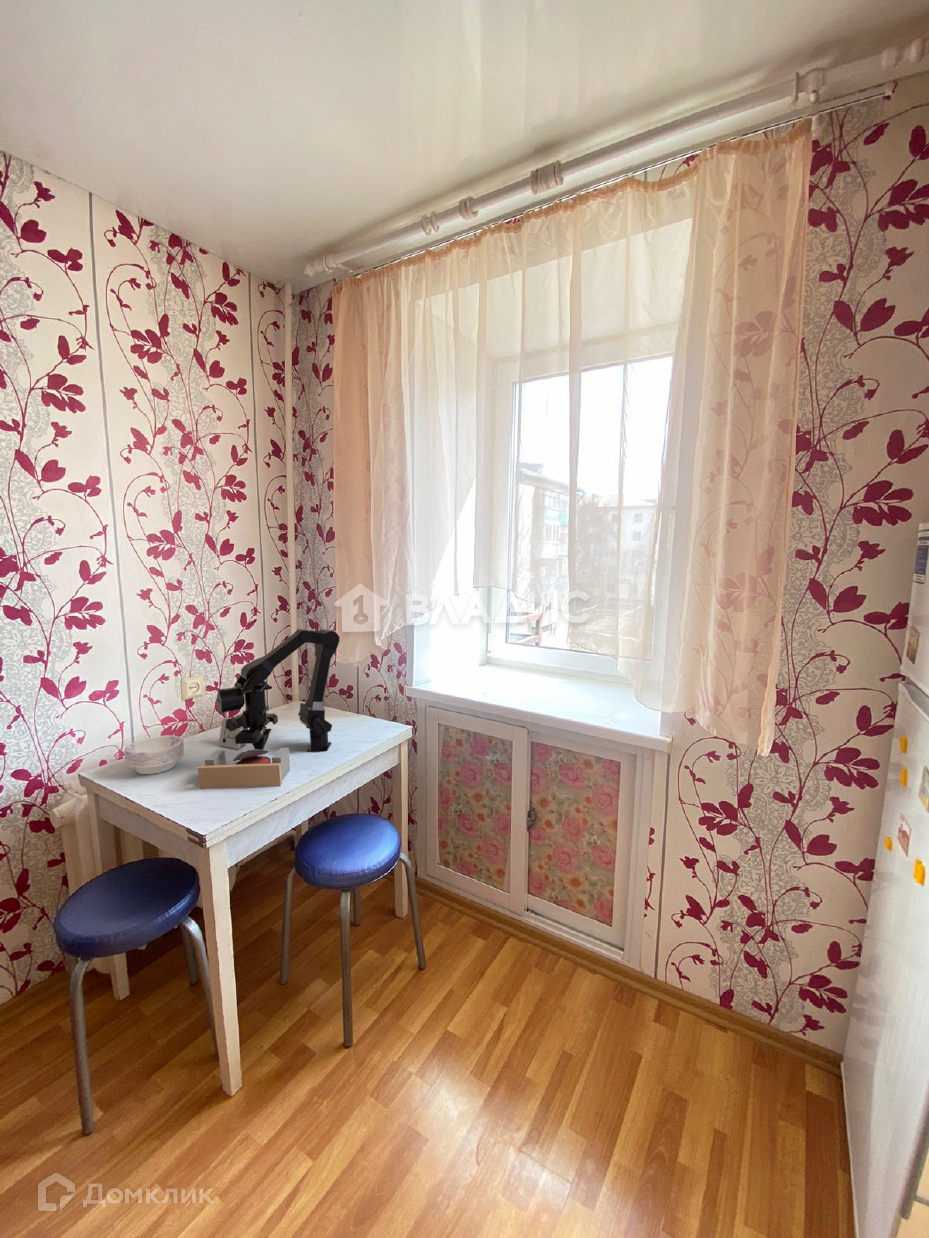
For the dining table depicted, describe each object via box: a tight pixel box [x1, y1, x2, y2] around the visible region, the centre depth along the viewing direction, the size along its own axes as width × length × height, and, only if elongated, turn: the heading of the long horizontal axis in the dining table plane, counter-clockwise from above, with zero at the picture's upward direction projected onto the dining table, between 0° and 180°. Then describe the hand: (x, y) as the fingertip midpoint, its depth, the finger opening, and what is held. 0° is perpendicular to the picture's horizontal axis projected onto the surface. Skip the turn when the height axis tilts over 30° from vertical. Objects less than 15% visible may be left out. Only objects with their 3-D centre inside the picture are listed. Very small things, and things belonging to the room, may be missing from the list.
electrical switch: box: [218, 717, 249, 750], centre depth 167 cm, size 9×5×9 cm, turn 65°
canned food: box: [232, 748, 272, 765], centre depth 145 cm, size 11×10×10 cm
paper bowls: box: [124, 735, 185, 775], centre depth 149 cm, size 15×15×8 cm
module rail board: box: [197, 747, 291, 790], centre depth 141 cm, size 10×22×7 cm, turn 92°
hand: (259, 754), depth 151 cm, fingers closed
